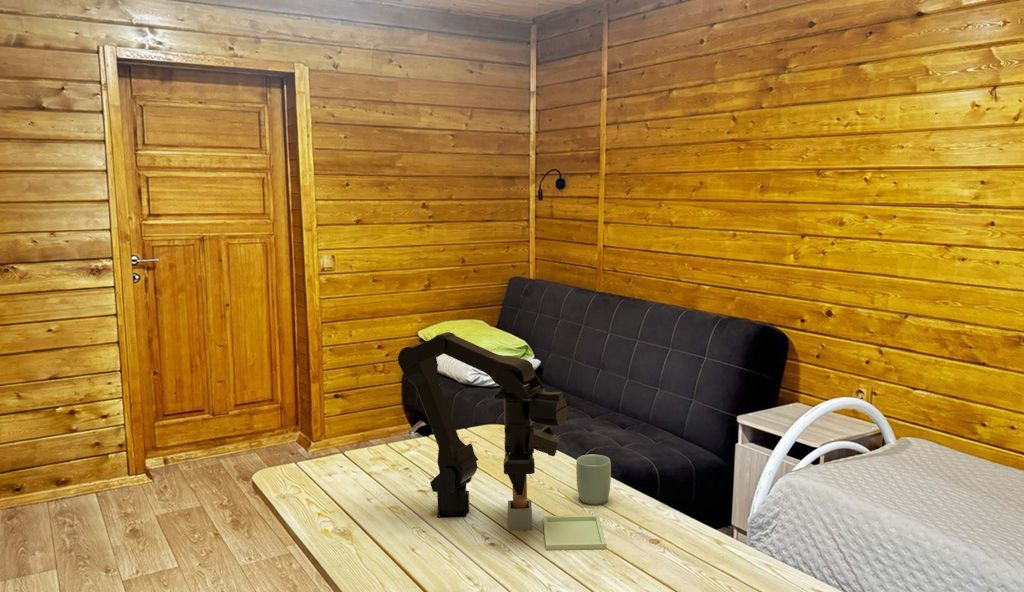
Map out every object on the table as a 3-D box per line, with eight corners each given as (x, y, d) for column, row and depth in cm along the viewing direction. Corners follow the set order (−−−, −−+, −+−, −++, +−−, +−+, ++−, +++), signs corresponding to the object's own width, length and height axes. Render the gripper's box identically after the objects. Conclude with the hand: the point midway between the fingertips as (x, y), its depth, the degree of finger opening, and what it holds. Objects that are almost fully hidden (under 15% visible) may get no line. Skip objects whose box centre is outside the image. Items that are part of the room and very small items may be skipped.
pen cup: (508, 532, 165) (507, 509, 165) (508, 522, 170) (508, 500, 170) (532, 532, 165) (531, 509, 165) (531, 522, 170) (531, 500, 170)
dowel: (513, 522, 166) (512, 476, 165) (513, 516, 169) (512, 471, 168) (527, 521, 166) (526, 476, 165) (527, 516, 169) (526, 471, 168)
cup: (609, 509, 176) (609, 466, 175) (574, 507, 178) (574, 464, 176) (612, 496, 184) (611, 455, 182) (578, 494, 185) (578, 453, 184)
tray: (545, 552, 156) (545, 545, 156) (543, 522, 170) (543, 516, 170) (606, 551, 156) (606, 544, 156) (598, 521, 170) (598, 515, 170)
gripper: (559, 433, 155) (560, 508, 158) (554, 407, 174) (555, 475, 176) (502, 434, 156) (504, 509, 158) (503, 408, 174) (505, 476, 176)
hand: (519, 491), depth 167 cm, fingers closed on dowel, 3 cm apart
